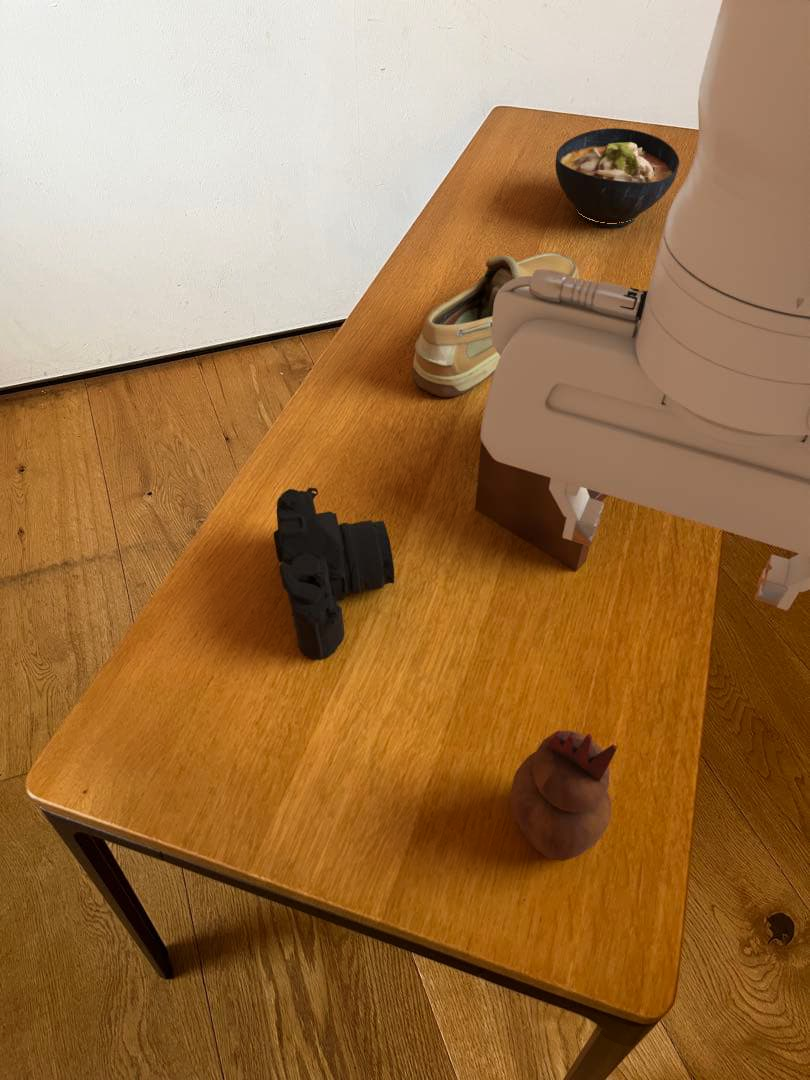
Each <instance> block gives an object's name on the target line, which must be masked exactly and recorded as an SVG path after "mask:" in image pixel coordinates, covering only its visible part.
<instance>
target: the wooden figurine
mask: <svg viewBox="0 0 810 1080" xmlns="http://www.w3.org/2000/svg"><path fill="white" fill-rule="evenodd" d="M617 749H618V746H616V745H615V744H611V745H610V746H608V747H606V748H605V749H604V750H603V749H602V747H601V746H600V745H599V744H598V743H596V741H594V740H593V735H592V734H590V733H587V735H584V734H582V733H580V732H576V731H572V730H556V731H555V732H553V733H552V734H551V735H549V736H547V737H545V738H544V739H543V740H542V741H541V743H540V745H539V746H538V748H537V749H536V750H535V751H534V752H532V753H531V754H529V755H528V756H527V757H526V758H524V761H523V762H522V763H521V765H520V766H519V767H518V769H517V770H516V771H515V772H514V773H515V774H514V776H513V779H512V784H511V788H510V794H509V798H508V800H509V804H510V806H511V809H512V812H513V815H514V819H515V820H516V823H517V825H518V827H519V829H520V831H521V833H522V834H523V836H524V837H525V840H526V841H527V842H528V843H529V844H530V845H531V846H532V848H533V849H535V850H536V851H537V852H538V853H540V854H541V855H542V856H544V858H547V859H551V860H557V861H560V862H565V861H568V860H571V859H573V858H577V857H579V856H581V855H582V854H583V853H586V852H587V851H588V850H591V848H593V847H594V846H596V844H597V843H598V842H599V840H600V839H601V838H602V836H603V835H604V834H605V831H607V829H608V827H609V826H610V822H611V815H612V814H611V813H612V800H611V797H610V795H609V792H608V789H609V785H610V775H611V772H610V764H611V762H612V760H613V758H614V756H615V754H616V751H617Z"/></svg>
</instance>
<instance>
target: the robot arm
mask: <svg viewBox="0 0 810 1080" xmlns="http://www.w3.org/2000/svg"><path fill="white" fill-rule="evenodd" d="M700 79H701V80H700V83H699V86H698V87H699V89H698V98H697V111H698V112H697V115H698V133H697V134H698V135H697V143H696V144H697V145H696V149H695V153H694V157H693V161H692V164H691V166H690V168H689V170H688V174H687V176H686V178H685V179H684V181H683V183H682V185H681V186H680V188H679V190H678V191H677V193H676V195H675V197H674V199H673V201H672V202H671V205H670V206H669V209H668V211H667V214H666V217H665V221H664V225H663V229H662V233H661V236H660V240H659V245H658V248H657V253H656V257H655V260H654V264H653V267H652V272H651V275H650V279H649V283H648V288H647V290H642V289H638V288H634V287H629V286H625V285H620V284H615V283H612V282H605V281H597V280H593V281H592V280H588V279H586V280H585V279H581V278H580V279H579V280H578V279H577V278H573V277H569V276H568V274H565V273H562V272H559V271H554V270H546V269H538V270H535V271H534V272H533V275H532V276H523V277H518V278H515V279H513V280H510V281H509V282H507V283H506V284H505V285H504V286H503V287H502V288H501V289H500V290H499V291H498V293H497V295H496V298H495V301H494V307H493V318H492V329H491V336H492V341H493V345H494V347H495V349H496V351H497V352H498V354H499V355H500V356H501V357H500V359H499V362H498V364H497V367H496V369H495V373H494V374H493V376H492V379H491V383H490V384H489V385H490V386H489V389H488V393H487V397H486V400H485V401H486V402H485V405H484V410H483V415H482V421H481V425H480V442H481V441H482V443H483V444H484V446H485V447H486V449H487V451H488V452H489V453H490V455H491V456H492V457H493V459H495V460H496V461H498V462H501V463H504V464H507V465H510V466H514V467H517V468H520V469H524V470H527V471H530V472H534V473H537V474H540V475H544V476H547V477H550V478H551V479H550V485H549V490H550V491H551V493H552V495H553V497H554V499H555V501H556V502H557V504H558V506H559V508H560V510H561V512H562V513H563V515H564V517H566V522H565V527H564V531H563V536H562V537H563V538H565V539H568V540H572V541H575V542H578V543H581V544H585V545H588V546H590V547H591V546H592V544H593V541H594V538H595V536H596V534H597V532H598V529H599V526H600V523H601V520H602V514H603V512H604V508H605V504H606V502H603V501H602V502H601V501H598V500H595V499H592V498H589V494H588V492H587V489H589V490H593V491H596V492H599V493H602V494H606V495H608V497H613V498H616V499H620V500H622V501H625V502H628V503H632V504H636V505H637V506H642V507H645V508H647V509H652V510H656V511H659V512H662V513H665V514H668V515H671V516H674V517H678V518H681V519H685V520H688V521H691V522H695V523H697V524H698V523H699V524H701V525H704V526H708V527H711V528H714V529H718V530H720V531H724V532H727V533H731V534H734V535H737V536H740V537H743V538H746V539H750V540H754V541H757V542H761V543H763V544H767V545H770V546H772V547H777V548H779V549H783V550H786V551H789V552H793V553H796V555H794V556H792V557H790V558H788V557H783V556H780V555H776V554H771V555H770V556H769V558H768V560H767V562H766V564H765V565H766V566H765V568H763V570H762V571H761V574H760V576H759V578H758V581H757V585H756V587H757V590H756V592H755V595H754V601H757V602H760V603H762V604H765V605H768V606H771V607H774V608H777V609H780V610H783V611H788V610H789V609H790V608H791V606H792V604H793V602H794V601H795V600H796V598H797V596H798V594H799V593H804V592H807V591H810V0H722V1H721V4H720V7H719V11H718V15H717V18H716V22H715V26H714V29H713V33H712V37H711V40H710V44H709V48H708V50H707V56H706V59H705V63H704V66H703V70H702V74H701V78H700ZM527 286H528V287H529V289H527V288H523V287H527Z"/></svg>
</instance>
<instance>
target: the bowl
mask: <svg viewBox="0 0 810 1080" xmlns="http://www.w3.org/2000/svg"><path fill="white" fill-rule="evenodd" d="M555 154H556V155H555V165H554V167H555V174H556V177H557V180H558V185H559V187H560V188H561V190H562V191H563V193H564V196H565V197H566V198H567V199H568V201H569V202H570V203H571V204H572V205H573V206H574V207H575V210H576V209H577V210H578V211H577V210H576V213H577V216H578V217H579V218H580V220H582V221H583V222H585V223H587V224H589V225H590V226H594V227H597V228H602V229H618V228H623V227H626V226H629V225H631V224H632V223H633V222H634V221H635V220H636V219H637V217H638V216H639V215H640V214H642V213H644V212H646V211H647V210H648V209H650V208H652V207H653V206H654V205H655V204H656V203H658V202H659V201H660V200H661V199H662V198H663V197H664V196H665V194H666V193H667V192H668V191H669V190H670V189H671V187H672V186H673V184H674V182H675V180H676V176H677V174H678V170H679V168H680V157H679V155H678V153H677V151H676V150H675V149H674V148H673V146H671V145H670V144H669V143H668V142H667V141H665V140H663V139H662V138H660V137H658V136H655V135H653V134H650V133H647V132H644V131H640V130H636V129H630V128H619V127H618V128H616V127H613V128H612V127H611V128H600V129H594V130H590V131H586V132H584V133H580V134H578V135H576V136H573V137H572V138H570V139H568V140H567V141H565V142H564V143H563V144H562V145H561V146H560V147H559V148H558V149H557V151H556V153H555ZM578 212H579V213H580V214H582V215H583V216H585V217H587V218H590V219H593V220H595V221H599V222H595V221H592V220H589V219H587V218H585V217H583V216H582V215H580V214H579V213H578ZM634 218H635V219H634ZM632 219H633V220H632ZM629 220H631V221H629ZM626 221H628V222H626ZM600 222H605V223H600ZM619 222H620V223H619ZM621 222H624V223H621ZM607 223H617V224H607Z"/></svg>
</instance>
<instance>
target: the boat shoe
mask: <svg viewBox="0 0 810 1080" xmlns="http://www.w3.org/2000/svg"><path fill="white" fill-rule="evenodd" d="M485 265H486V267H487V269H486V270H485V273H484V274H483V276H481V277H480V278H479V280H477V282H476V283H475V284H474V285H472V286H470V287H468V288H466V289H464V290H463V291H461V292H460V293H458V294H456V295H455V296H453V297H451V298H450V299H448V301H445V302H442V303H441V304H439V305H438V306H436V307H434V308H433V309H432V310H430V312H429V314H428V315H427V317H426V319H425V321H424V325H423V328H422V330H421V333H420V335H419V337H418V338H417V339H416V342H415V345H414V348H415V353H414V357H413V361H412V362H413V363H412V364H413V368H412V377H413V380H414V382H415V383H416V385H417V386H418V387H420V388H421V389H422V390H424V391H426V392H428V393H430V394H432V395H435V396H438V397H441V398H453V397H458V396H461V395H463V394H466V393H467V392H469V391H472V390H473V389H474V388H476V387H477V386H479V385H480V384H482V383H484V382H485V381H487V380H488V379H489V378H490V377H491V376H492V375H493V376H494V373H495V369H496V367H497V364H498V362H499V359H500V357H501V356H500V355H499V354H498V352H497V351H496V349H495V347H494V345H493V341H492V336H491V329H492V318H493V307H494V301H495V298H496V295H497V293H498V291H499V290H500V289H501V288H502V287H503V286H504V285H505V284H506V283H507V282H509V281H510V280H513V279H515V278H518V277H523V276H532V275H533V272H534V271H535V270H538V269H546V270H554V271H559V272H562V273H565V274H568V276H569V277H573V278H577V279H578V280H579V279H581V274H580V270H579V268H578V266H577V263H576V262H575V261H574V260H573V259H572V257H569V256H568V255H566V254H563V253H561V252H556V251H546V252H539V253H536V254H534V255H531V256H529V257H525V258H523V259H519V260H517V261H516V260H515V259H514V258H513V257H511V255H510V256H509V255H506V254H498V255H496V256H492V257H490V258H488V259H487V260H486V261H485ZM523 288H527V289H529V287H528V286H527V287H523Z"/></svg>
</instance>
